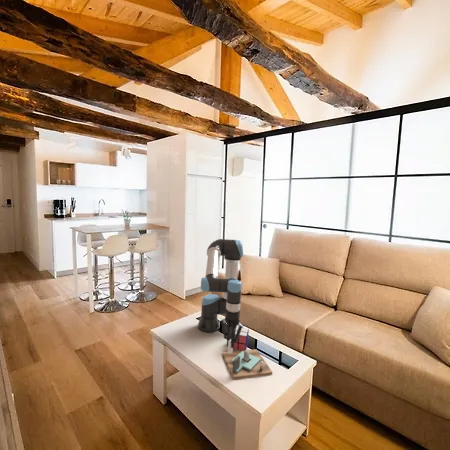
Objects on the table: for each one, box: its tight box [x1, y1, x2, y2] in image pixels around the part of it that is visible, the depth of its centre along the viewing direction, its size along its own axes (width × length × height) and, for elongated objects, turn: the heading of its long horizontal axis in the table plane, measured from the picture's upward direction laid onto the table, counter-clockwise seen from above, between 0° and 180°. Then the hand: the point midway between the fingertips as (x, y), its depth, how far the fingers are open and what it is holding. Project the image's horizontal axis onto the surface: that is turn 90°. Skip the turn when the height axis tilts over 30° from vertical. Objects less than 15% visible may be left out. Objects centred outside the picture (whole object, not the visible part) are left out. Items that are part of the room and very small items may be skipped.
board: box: [221, 348, 273, 380], centre depth 146 cm, size 22×22×7 cm
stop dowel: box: [260, 361, 263, 371], centre depth 139 cm, size 2×2×5 cm
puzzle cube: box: [231, 326, 249, 351], centre depth 163 cm, size 10×10×10 cm
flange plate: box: [232, 351, 261, 373], centre depth 142 cm, size 20×12×7 cm, turn 146°
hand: (230, 352), depth 138 cm, fingers closed
